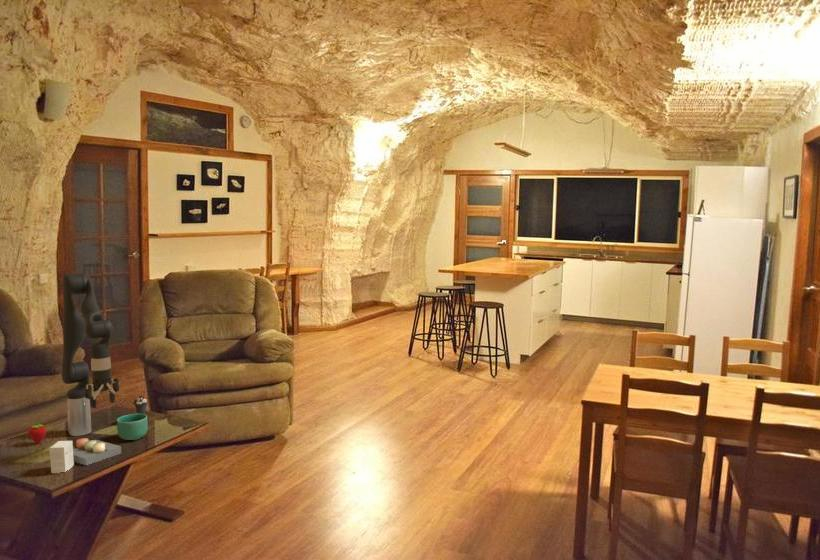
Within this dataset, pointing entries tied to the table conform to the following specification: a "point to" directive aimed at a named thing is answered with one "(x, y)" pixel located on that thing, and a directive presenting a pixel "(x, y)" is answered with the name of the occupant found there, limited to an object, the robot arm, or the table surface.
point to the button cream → (98, 448)
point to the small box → (61, 456)
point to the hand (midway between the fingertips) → (103, 405)
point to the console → (90, 457)
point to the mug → (132, 426)
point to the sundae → (140, 404)
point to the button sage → (89, 445)
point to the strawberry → (37, 433)
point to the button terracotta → (81, 443)
